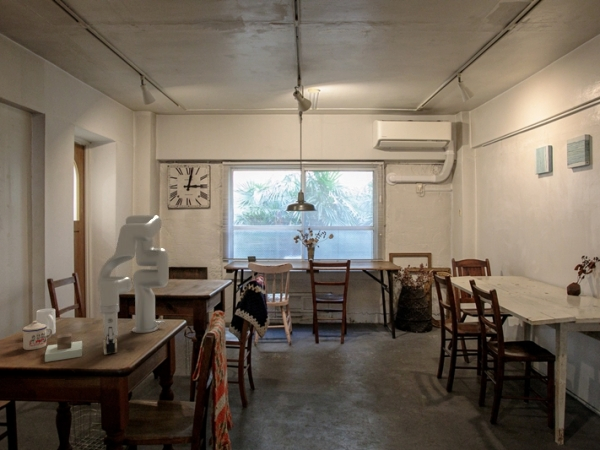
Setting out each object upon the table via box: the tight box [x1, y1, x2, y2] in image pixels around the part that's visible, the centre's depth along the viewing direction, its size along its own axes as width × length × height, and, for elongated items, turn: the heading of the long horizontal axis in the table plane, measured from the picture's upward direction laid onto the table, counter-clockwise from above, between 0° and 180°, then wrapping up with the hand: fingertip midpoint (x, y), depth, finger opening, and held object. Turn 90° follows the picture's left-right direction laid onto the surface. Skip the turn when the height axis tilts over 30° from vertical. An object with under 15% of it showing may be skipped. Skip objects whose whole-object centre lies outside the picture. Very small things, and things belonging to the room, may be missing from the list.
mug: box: [35, 307, 57, 337], centre depth 193 cm, size 8×12×12 cm
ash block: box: [103, 337, 118, 355], centre depth 166 cm, size 5×5×5 cm
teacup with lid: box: [22, 320, 53, 351], centre depth 176 cm, size 12×9×12 cm
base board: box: [44, 340, 83, 363], centre depth 165 cm, size 13×13×3 cm
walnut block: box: [56, 332, 73, 350], centre depth 165 cm, size 5×5×5 cm
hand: (110, 350), depth 166 cm, fingers closed on ash block, 5 cm apart
